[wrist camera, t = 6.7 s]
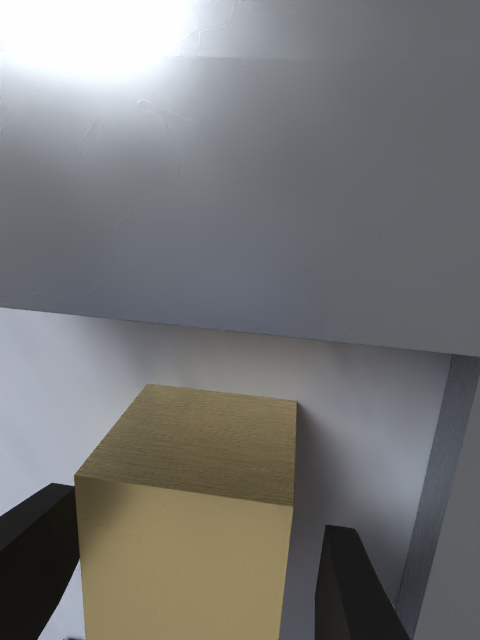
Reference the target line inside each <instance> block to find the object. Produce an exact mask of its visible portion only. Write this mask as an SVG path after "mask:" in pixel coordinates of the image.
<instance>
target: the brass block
mask: <svg viewBox="0 0 480 640" xmlns="http://www.w3.org/2000/svg"><path fill="white" fill-rule="evenodd" d="M296 410H297V401H293V400H284V399H275V398H267V397H258V396H249V395H241V394H232V393H223V392H215V391H206V390H197V389H189V388H180V387H171V386H163V385H154V384H147V385H146V386H145V387H144V388H143V390H142V391H141V392H140V393H139V395H138V396H137V397H136V398H135V400H134V401H133V402H132V403H131V405H130V406H129V407H128V408H127V410H126V411H125V412H124V413H123V415H122V416H121V417H120V418H119V420H118V421H117V422H116V423H115V425H114V426H113V427H112V428H111V430H110V431H109V432H108V433H107V435H106V436H105V437H104V438H103V440H102V441H101V442H100V443H99V445H98V446H97V447H96V448H95V450H94V451H93V452H92V453H91V455H90V456H89V457H88V458H87V460H86V461H85V462H84V463H83V465H82V466H81V467H80V468H79V470H78V471H77V472H76V473H75V475H74V482H75V496H76V509H77V523H78V537H79V551H80V565H81V578H82V592H83V606H84V620H85V634H86V640H279V631H280V622H281V613H282V605H283V596H284V587H285V578H286V569H287V560H288V551H289V542H290V533H291V525H292V516H293V506H294V474H295V442H296Z"/></svg>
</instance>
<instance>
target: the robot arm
mask: <svg viewBox="0 0 480 640" xmlns="http://www.w3.org/2000/svg"><path fill="white" fill-rule="evenodd" d="M79 559H80V551H79V537H78V523H77V509H76V496H75V486H70V485H63V484H56V483H51V484H49V485H48V486H46V487H44V488H43V489H41V490H40V491H38V492H37V493H35V494H34V495H32V496H30V497H29V498H27V499H26V500H24V501H23V502H21V503H20V504H18V505H17V506H15V507H14V508H12V509H11V510H9V511H8V512H6V513H5V514H3V515H2V516H0V640H37V639H38V637H39V636H40V634H41V632H42V631H43V629H44V627H45V626H46V624H47V622H48V621H49V619H50V617H51V616H52V614H53V612H54V611H55V609H56V607H57V605H58V604H59V602H60V600H61V598H62V596H63V594H64V592H65V590H66V587H67V585H68V583H69V581H70V579H71V577H72V575H73V572H74V570H75V568H76V566H77V564H78V561H79ZM315 640H411V639H410V638H409V636H408V634H407V632H406V630H405V629H404V627H403V625H402V623H401V621H400V619H399V617H398V616H397V614H396V612H395V610H394V608H393V606H392V605H391V603H390V601H389V599H388V597H387V595H386V593H385V591H384V589H383V587H382V585H381V583H380V581H379V579H378V577H377V575H376V573H375V571H374V568H373V566H372V564H371V562H370V560H369V558H368V555H367V553H366V551H365V549H364V546H363V544H362V541H361V539H360V537H359V534H358V533H357V532H356V530H355V529H352V528H346V527H339V526H333V525H325V532H324V539H323V545H322V552H321V559H320V566H319V572H318V579H317V586H316V593H315Z"/></svg>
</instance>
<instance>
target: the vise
mask: <svg viewBox="0 0 480 640" xmlns="http://www.w3.org/2000/svg"><path fill="white" fill-rule="evenodd" d="M0 307H2V308H12V309H22V310H31V311H41V312H51V313H61V314H70V315H80V316H90V317H99V318H109V319H119V320H128V321H138V322H148V323H158V324H167V325H177V326H187V327H196V328H206V329H216V330H225V331H235V332H245V333H254V334H264V335H274V336H284V337H293V338H303V339H313V340H322V341H332V342H342V343H351V344H361V345H371V346H380V347H390V348H400V349H410V350H419V351H429V352H439V353H448V354H453V358H452V363H451V367H450V372H449V376H448V380H447V385H446V389H445V394H444V398H443V402H442V407H441V411H440V416H439V420H438V425H437V429H436V433H435V438H434V442H433V447H432V451H431V455H430V460H429V464H428V469H427V473H426V477H425V482H424V486H423V491H422V495H421V500H420V504H419V508H418V513H417V517H416V522H415V526H414V530H413V535H412V539H411V544H410V548H409V552H408V557H407V561H406V566H405V570H404V575H403V579H402V583H401V588H400V592H399V597H398V601H397V605H396V610H395V612H396V614H397V616H398V617H399V619H400V621H401V623H402V625H403V627H404V629H405V630H406V632H407V634H408V636H409V638H410V639H411V640H479V639H480V0H0Z"/></svg>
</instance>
